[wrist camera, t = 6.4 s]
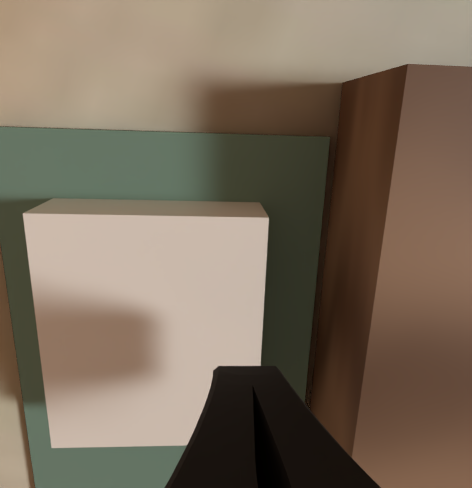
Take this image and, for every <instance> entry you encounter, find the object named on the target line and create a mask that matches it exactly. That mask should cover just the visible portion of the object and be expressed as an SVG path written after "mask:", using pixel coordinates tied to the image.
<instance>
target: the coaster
mask: <svg viewBox="0 0 472 488" xmlns="http://www.w3.org/2000/svg"><path fill="white" fill-rule="evenodd" d="M23 220H24V228H25V236H26V244H27V252H28V261H29V269H30V277H31V285H32V293H33V301H34V309H35V317H36V326H37V334H38V342H39V350H40V358H41V366H42V374H43V382H44V391H45V399H46V407H47V415H48V423H49V431H50V439H51V447H52V448H83V447H133V446H183V445H187V444H188V442H189V440H190V438H191V436H192V434H193V432H194V429H195V427H196V425H197V422H198V420H199V417H200V415H201V413H202V410H203V408H204V405H205V402H206V399H207V397H208V394H209V390H210V387H211V382H212V377H213V370H214V369H216V368H217V367H218V366H261V349H262V331H263V313H264V296H265V278H266V261H267V243H268V225H269V217H268V215H267V214H266V212H265V210H264V209H263V207H262V205H261V204H260V202H218V201H168V200H118V199H68V198H53V199H51V200H49V201H47V202H45V203H43V204H41V205H39V206H37V207H34V208H32V209H30V210H28V211H26V212H24V213H23Z"/></svg>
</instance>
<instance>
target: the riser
mask: <svg viewBox="0 0 472 488" xmlns="http://www.w3.org/2000/svg"><path fill="white" fill-rule="evenodd" d="M310 411H311V412H312V413H313V414H314V415H315V417H316V418H317V419H318V420H319V421H320V423H321V424H322V425H323V426H324V427H325V428H326V430H327V431H328V432H329V433H330V434H331V435H332V437H333V438H334V439H335V440H336V441H337V442H338V443H339V444H340V446H341V447H342V448H343V449H344V450H345V451H346V452H347V453H348V454H349V455H350V456H351V457H352V459H353V460H354V461H355V462H356V463H357V464H358V465H359V466H360V467H361V468H362V469H363V470H364V471H365V472H366V473H367V474H368V475H369V476H370V477H371V478H372V479H373V480H374V481H375V482H376V483H377V484H378V485H379V486H380V487H381V488H472V67H463V66H440V65H418V64H406V65H403V66H399V67H396V68H392V69H389V70H385V71H382V72H378V73H375V74H371V75H368V76H364V77H361V78H357V79H354V80H350V81H347V82H343V85H342V95H341V104H340V114H339V124H338V134H337V144H336V154H335V164H334V174H333V184H332V194H331V204H330V214H329V223H328V233H327V243H326V253H325V263H324V273H323V283H322V293H321V303H320V313H319V323H318V333H317V342H316V352H315V362H314V372H313V382H312V392H311V402H310Z"/></svg>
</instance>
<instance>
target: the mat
mask: <svg viewBox="0 0 472 488" xmlns="http://www.w3.org/2000/svg"><path fill="white" fill-rule="evenodd" d="M329 143H330V137H318V136H286V135H254V134H222V133H190V132H158V131H126V130H94V129H63V128H31V127H0V244H1V251H2V258H3V265H4V272H5V279H6V286H7V293H8V300H9V307H10V314H11V321H12V328H13V335H14V342H15V349H16V356H17V363H18V370H19V377H20V384H21V391H22V398H23V405H24V412H25V419H26V426H27V433H28V440H29V447H30V454H31V461H32V468H33V475H34V483H35V488H165V486H166V484H167V482H168V481H169V479H170V477H171V475H172V474H173V472H174V470H175V468H176V466H177V464H178V462H179V460H180V458H181V456H182V454H183V452H184V450H185V448H186V446H187V445H183V446H133V447H83V448H52V447H51V439H50V431H49V423H48V415H47V407H46V399H45V391H44V382H43V374H42V366H41V358H40V350H39V342H38V334H37V326H36V317H35V309H34V301H33V293H32V285H31V277H30V269H29V261H28V252H27V244H26V236H25V228H24V220H23V213H24V212H26V211H28V210H30V209H32V208H34V207H37V206H39V205H41V204H43V203H45V202H47V201H49V200H51V199H53V198H68V199H118V200H168V201H218V202H260V204H261V205H262V207H263V209H264V210H265V212H266V214H267V215H268V217H269V225H268V243H267V261H266V278H265V296H264V313H263V331H262V349H261V366H276V367H277V368H278V369H279V370H280V371H281V372H282V374H283V375H284V377H285V378H286V379H287V381H288V382H289V383H290V385H291V386H292V387H293V389H294V390H295V391H296V393H297V394H298V395H299V397H300V398H301V399H302V400H303V402H304V403H305V394H306V383H307V373H308V362H309V352H310V342H311V331H312V321H313V310H314V300H315V289H316V279H317V269H318V258H319V248H320V237H321V227H322V216H323V206H324V196H325V185H326V175H327V164H328V154H329Z"/></svg>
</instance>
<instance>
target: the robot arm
mask: <svg viewBox="0 0 472 488" xmlns="http://www.w3.org/2000/svg"><path fill="white" fill-rule="evenodd" d="M165 488H381V487H380V486H379V485H378V484H377V483H376V482H375V481H374V480H373V479H372V478H371V477H370V476H369V475H368V474H367V473H366V472H365V471H364V470H363V469H362V468H361V467H360V466H359V465H358V464H357V463H356V462H355V461H354V460H353V459H352V457H351V456H350V455H349V454H348V453H347V452H346V451H345V450H344V449H343V448H342V447H341V446H340V444H339V443H338V442H337V441H336V440H335V439H334V438H333V437H332V435H331V434H330V433H329V432H328V431H327V430H326V428H325V427H324V426H323V425H322V424H321V423H320V421H319V420H318V419H317V418H316V417H315V415H314V414H313V413H312V412H311V411H310V409H309V408H308V407H307V406H306V404H305V403H304V402H303V400H302V399H301V398H300V397H299V395H298V394H297V393H296V391H295V390H294V389H293V387H292V386H291V385H290V383H289V382H288V381H287V379H286V378H285V377H284V375H283V374H282V372H281V371H280V370H279V369H278V368H277V367H276V366H218V367H217V368H216V369H214V370H213V377H212V382H211V387H210V390H209V394H208V397H207V399H206V402H205V405H204V408H203V410H202V413H201V415H200V417H199V420H198V422H197V425H196V427H195V429H194V432H193V434H192V436H191V438H190V440H189V442H188V444H187V446H186V448H185V450H184V452H183V454H182V456H181V458H180V460H179V462H178V464H177V466H176V468H175V470H174V472H173V474H172V475H171V477H170V479H169V481H168V482H167V484H166V486H165Z"/></svg>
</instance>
